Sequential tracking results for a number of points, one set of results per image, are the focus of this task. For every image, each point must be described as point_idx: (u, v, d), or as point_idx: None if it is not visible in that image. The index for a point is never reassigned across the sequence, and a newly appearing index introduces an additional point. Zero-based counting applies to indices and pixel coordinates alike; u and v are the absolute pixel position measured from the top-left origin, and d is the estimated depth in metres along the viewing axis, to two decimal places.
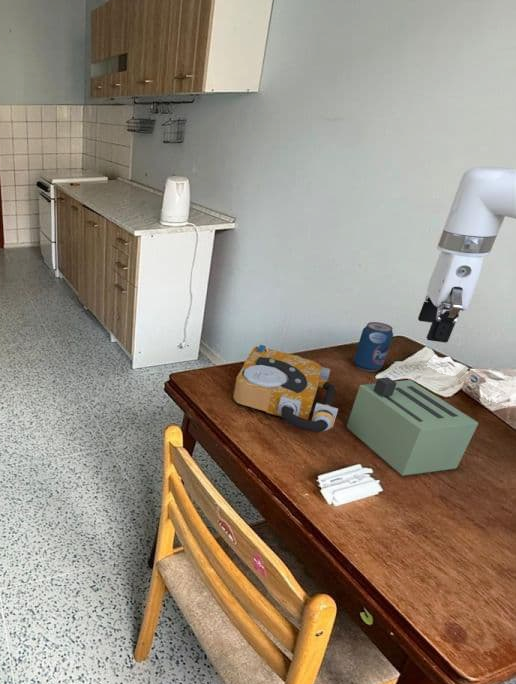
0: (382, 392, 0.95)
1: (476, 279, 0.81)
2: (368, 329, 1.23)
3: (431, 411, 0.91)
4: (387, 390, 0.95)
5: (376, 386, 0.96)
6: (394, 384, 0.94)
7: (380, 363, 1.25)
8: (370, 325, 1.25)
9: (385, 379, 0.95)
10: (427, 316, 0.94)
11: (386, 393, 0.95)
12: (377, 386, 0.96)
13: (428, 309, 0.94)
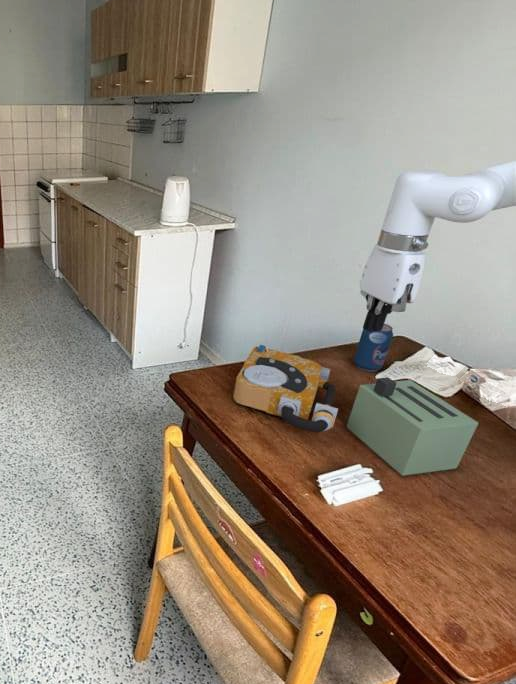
0: (382, 392, 0.95)
1: (422, 274, 0.87)
2: None
3: (431, 411, 0.91)
4: (387, 390, 0.95)
5: (376, 386, 0.96)
6: (394, 384, 0.94)
7: (380, 363, 1.25)
8: None
9: (385, 379, 0.95)
10: None
11: (386, 393, 0.95)
12: (377, 386, 0.96)
13: None
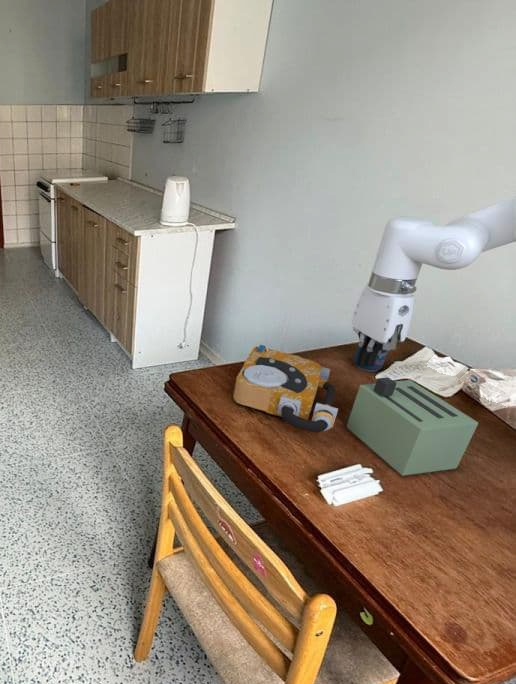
0: (382, 392, 0.95)
1: (411, 315, 0.90)
2: None
3: (431, 411, 0.91)
4: (387, 390, 0.95)
5: (376, 386, 0.96)
6: (394, 384, 0.94)
7: (380, 363, 1.25)
8: None
9: (385, 379, 0.95)
10: None
11: (386, 393, 0.95)
12: (377, 386, 0.96)
13: None
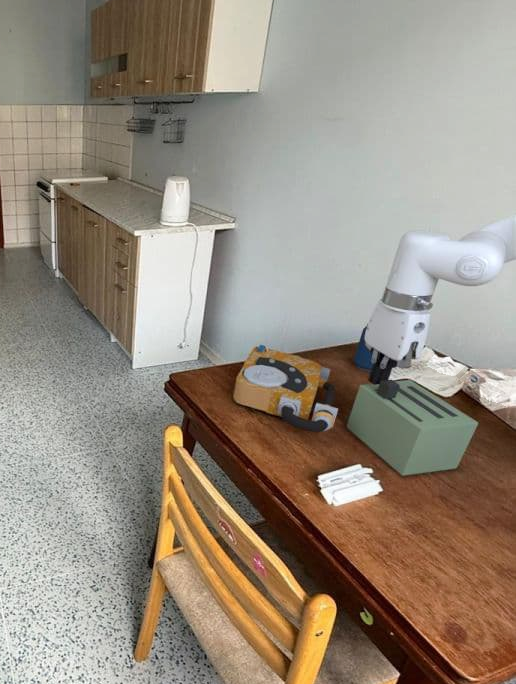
0: (385, 394, 0.94)
1: (427, 332, 0.87)
2: None
3: (431, 411, 0.91)
4: (390, 393, 0.94)
5: (379, 388, 0.95)
6: (397, 386, 0.93)
7: None
8: None
9: (388, 381, 0.94)
10: None
11: (389, 395, 0.94)
12: (380, 388, 0.95)
13: None
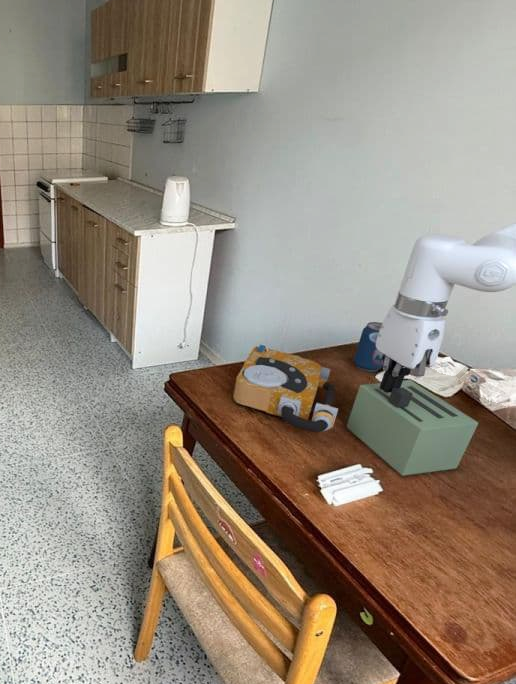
0: (397, 403, 0.91)
1: None
2: (368, 329, 1.23)
3: (431, 411, 0.91)
4: (402, 401, 0.91)
5: (391, 397, 0.93)
6: (410, 395, 0.91)
7: (380, 363, 1.25)
8: (370, 325, 1.25)
9: (401, 389, 0.92)
10: None
11: (402, 404, 0.91)
12: (392, 397, 0.93)
13: None
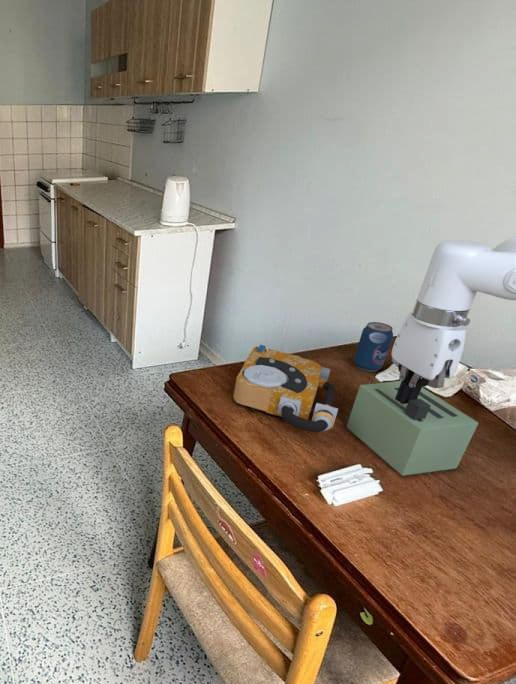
0: (414, 415, 0.88)
1: (462, 349, 0.81)
2: (368, 329, 1.23)
3: (431, 411, 0.91)
4: (420, 413, 0.87)
5: (407, 408, 0.89)
6: (428, 406, 0.87)
7: (380, 363, 1.25)
8: (370, 325, 1.25)
9: (418, 401, 0.88)
10: None
11: (419, 416, 0.88)
12: (408, 408, 0.89)
13: None
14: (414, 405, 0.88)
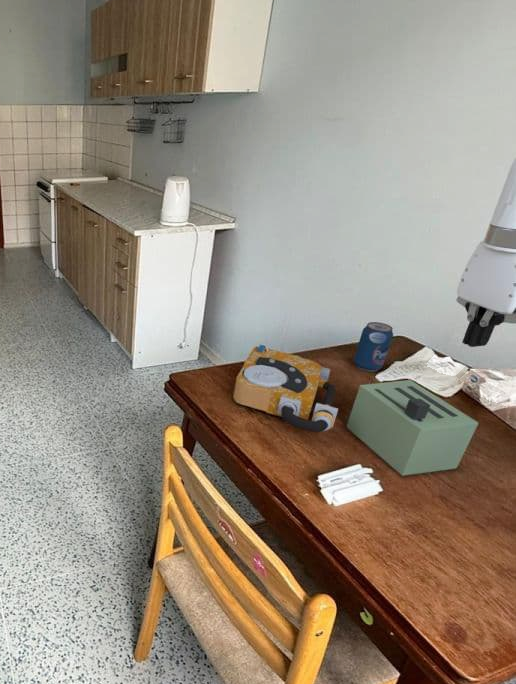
0: (414, 415, 0.88)
1: None
2: (368, 329, 1.23)
3: (431, 411, 0.91)
4: (420, 413, 0.87)
5: (407, 408, 0.89)
6: (427, 406, 0.87)
7: (380, 363, 1.25)
8: (370, 325, 1.25)
9: (417, 401, 0.88)
10: None
11: (419, 416, 0.88)
12: (408, 408, 0.89)
13: None
14: (414, 405, 0.88)
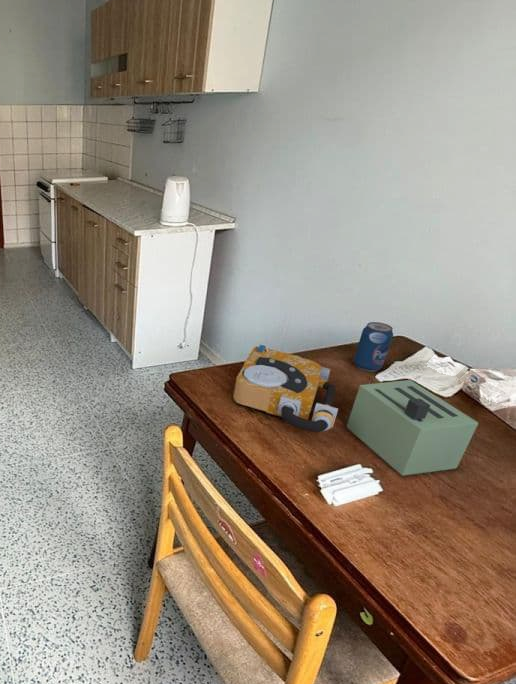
0: (414, 415, 0.88)
1: None
2: (368, 329, 1.23)
3: (431, 411, 0.91)
4: (420, 413, 0.87)
5: (407, 408, 0.89)
6: (427, 406, 0.87)
7: (380, 363, 1.25)
8: (370, 325, 1.25)
9: (417, 401, 0.88)
10: None
11: (419, 416, 0.88)
12: (408, 408, 0.89)
13: None
14: (414, 405, 0.88)
